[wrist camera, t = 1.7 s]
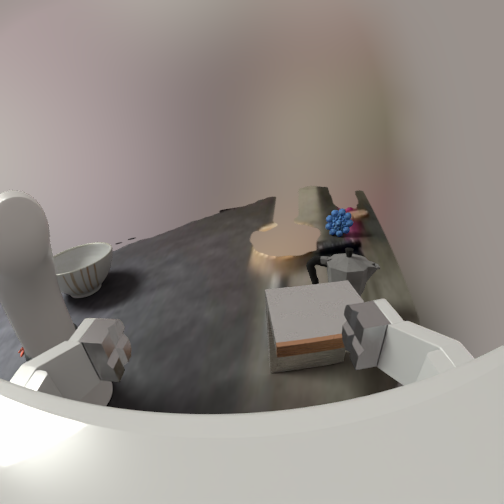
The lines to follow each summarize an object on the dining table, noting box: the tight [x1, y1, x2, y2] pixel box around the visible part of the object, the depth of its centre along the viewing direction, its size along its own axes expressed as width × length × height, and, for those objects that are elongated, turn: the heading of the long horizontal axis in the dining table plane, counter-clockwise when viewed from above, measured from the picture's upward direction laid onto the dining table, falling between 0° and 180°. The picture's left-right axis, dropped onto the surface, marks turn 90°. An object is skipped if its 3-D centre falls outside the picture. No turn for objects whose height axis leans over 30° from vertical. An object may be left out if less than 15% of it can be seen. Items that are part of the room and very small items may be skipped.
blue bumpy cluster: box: [326, 209, 353, 237], centre depth 109 cm, size 12×7×12 cm, turn 58°
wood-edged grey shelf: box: [265, 280, 364, 373], centre depth 41 cm, size 14×14×16 cm
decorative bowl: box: [53, 242, 112, 298], centre depth 80 cm, size 27×27×12 cm
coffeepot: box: [306, 248, 380, 297], centre depth 57 cm, size 15×9×18 cm, turn 68°
